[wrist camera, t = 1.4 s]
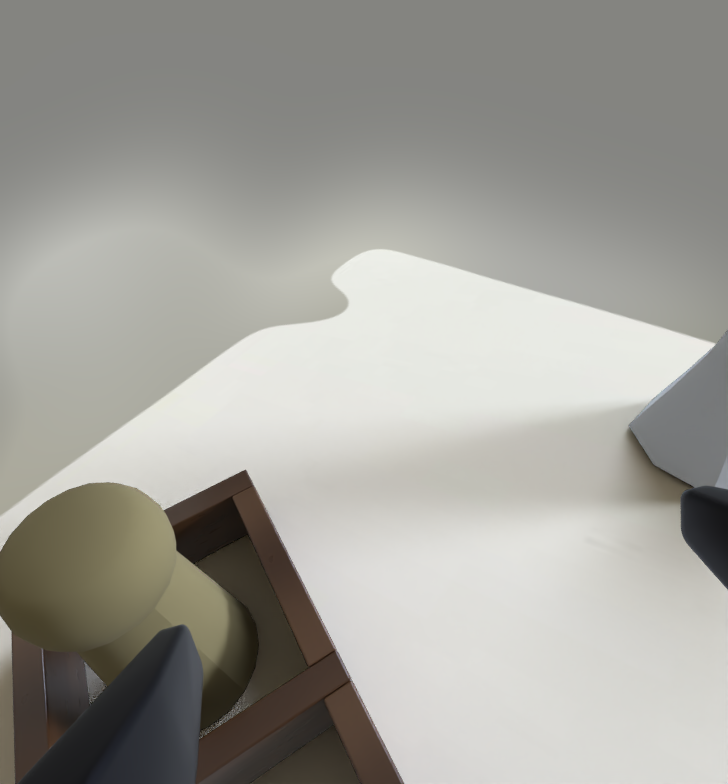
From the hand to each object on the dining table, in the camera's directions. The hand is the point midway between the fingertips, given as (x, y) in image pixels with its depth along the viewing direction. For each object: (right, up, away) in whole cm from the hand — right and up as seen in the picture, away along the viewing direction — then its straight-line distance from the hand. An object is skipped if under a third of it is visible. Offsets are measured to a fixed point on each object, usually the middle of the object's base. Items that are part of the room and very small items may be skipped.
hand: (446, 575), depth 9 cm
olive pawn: (-9, -9, +14) cm, 19 cm away
